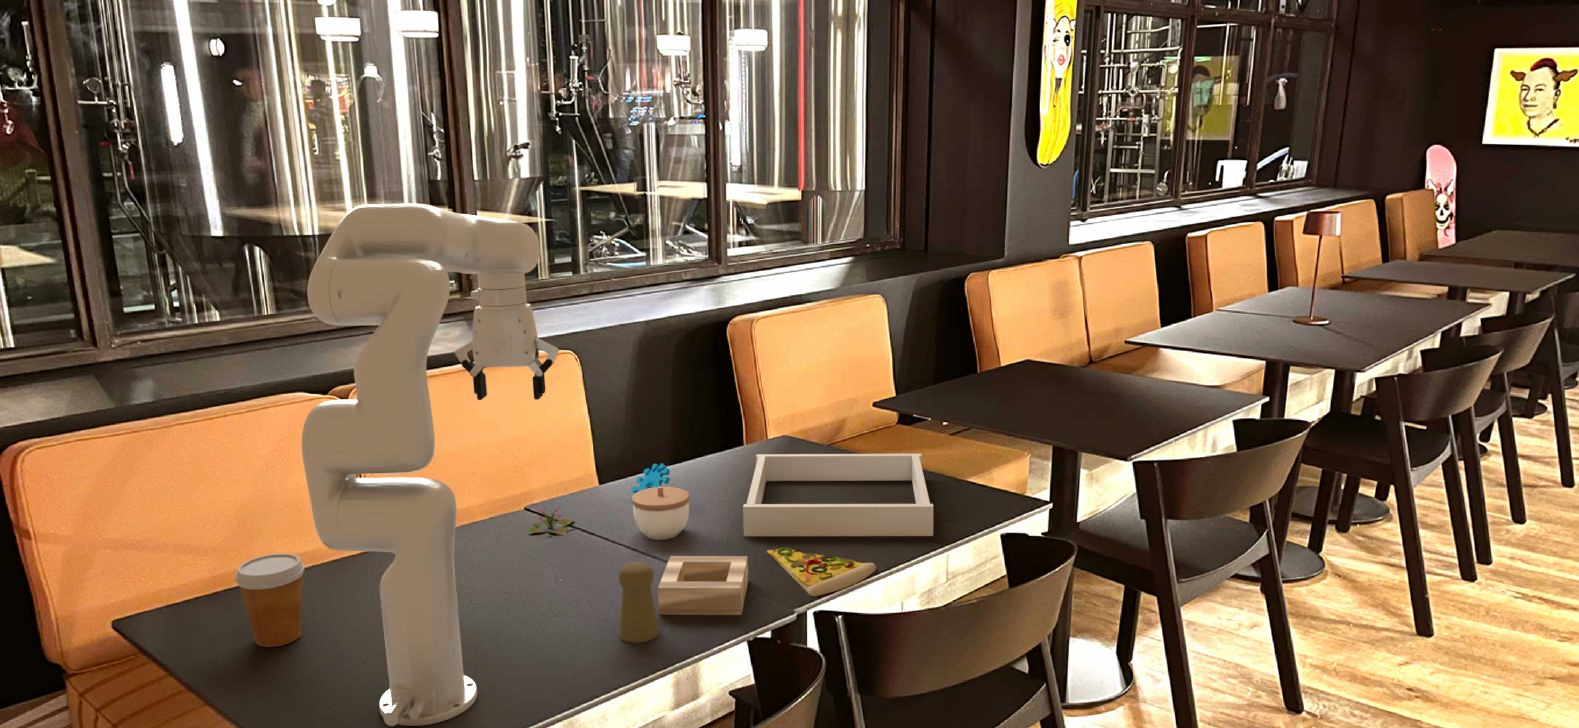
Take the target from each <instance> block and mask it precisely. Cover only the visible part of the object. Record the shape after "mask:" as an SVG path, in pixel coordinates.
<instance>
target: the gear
mask: <svg viewBox="0 0 1579 728" xmlns="http://www.w3.org/2000/svg"><path fill="white" fill-rule="evenodd" d="M643 473H644V478H643V477H642V476H638V477H637V478H636V480H635V482H637V483H638V484H639V486H636V485H635V486H633V487H632V489H631V493H633V495H634V494H635V493H637V492H639V491H641V490H644V489H648V488H654V487H667V486H666V485H667V484H669V482H670V480H671V478H670V477H668V476H669V475H670V474H671V470H670V469H669V468H668V467H667V465H665V464H664V463H660V464H657V463H653V464H652V466H651V469H650V468H649V467H648V468H644V470H643ZM663 483H664V484H665V485H664V486H662V484H663ZM633 495H631V497H630V498H631V499H630V500H631V501H632V496H633Z"/></svg>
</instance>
